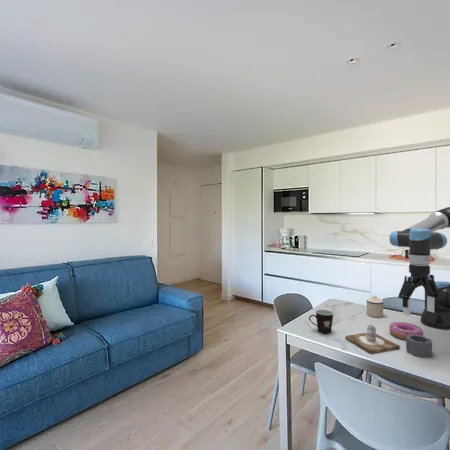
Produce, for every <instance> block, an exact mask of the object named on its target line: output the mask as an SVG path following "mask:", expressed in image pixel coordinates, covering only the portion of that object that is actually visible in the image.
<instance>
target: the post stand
mask: <svg viewBox="0 0 450 450" xmlns="http://www.w3.org/2000/svg"><path fill="white" fill-rule="evenodd" d="M344 337H345V339H344V340H346V341H348V342H349V343H351V344H352V345H355V346H356V347H358V348H359V349H361V350H363V351H364V352H366V353H367V354H370V355H374V354H379V353H385V352H389V351H390V352H391V351H396V350H400V349H401V345H400V344H397V343H396V342H393V341H392V340H389V339H387V338H385V337H384V336H382V335H379V334H377V329H376V326H375V325H373V324H369V325H367V328H366V332H362V333H356V334H349V335H345V336H344Z"/></svg>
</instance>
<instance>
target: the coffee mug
mask: <svg viewBox="0 0 450 450" xmlns="http://www.w3.org/2000/svg"><path fill="white" fill-rule="evenodd" d="M311 317H315V319H316V323H315V322H313V321H312V320H311ZM333 317H334V312H333V310H329V309H317V310H315V314H311V315H309V317H308V320H309V322H311V323H312V324H313V325H314V326H316V328H317V332H318V333H320V334H323V335H329V334H331V333H332V329H333V328H332V327H333V320H334V318H333Z"/></svg>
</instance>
